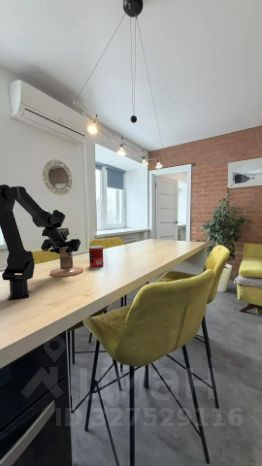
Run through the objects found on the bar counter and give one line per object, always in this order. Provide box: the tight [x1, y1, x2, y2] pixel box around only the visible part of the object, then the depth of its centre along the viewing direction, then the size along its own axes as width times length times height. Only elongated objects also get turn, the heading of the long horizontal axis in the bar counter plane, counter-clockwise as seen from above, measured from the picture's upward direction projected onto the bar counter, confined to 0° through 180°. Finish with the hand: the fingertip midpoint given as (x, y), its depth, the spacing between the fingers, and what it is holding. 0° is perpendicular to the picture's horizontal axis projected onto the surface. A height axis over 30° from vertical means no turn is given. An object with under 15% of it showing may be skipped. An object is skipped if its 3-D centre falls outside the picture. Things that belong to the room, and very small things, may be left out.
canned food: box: [88, 245, 104, 268], centre depth 125 cm, size 8×8×11 cm
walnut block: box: [59, 247, 74, 270], centre depth 111 cm, size 4×4×13 cm
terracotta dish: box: [49, 266, 84, 278], centre depth 112 cm, size 16×16×1 cm
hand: (67, 255), depth 113 cm, fingers closed on walnut block, 4 cm apart
